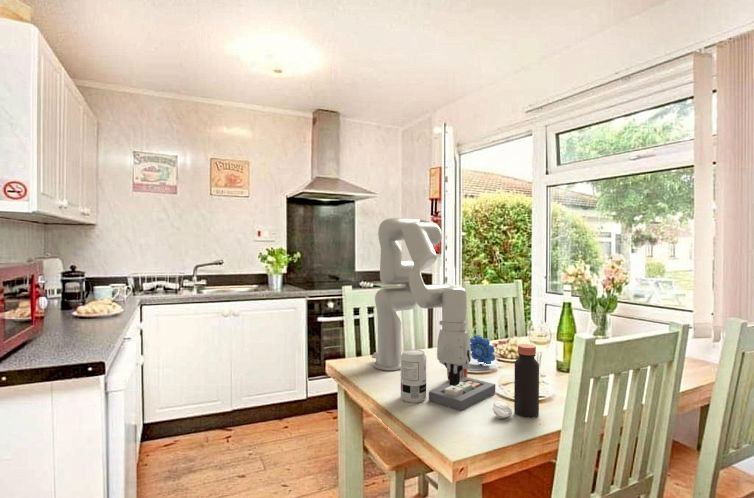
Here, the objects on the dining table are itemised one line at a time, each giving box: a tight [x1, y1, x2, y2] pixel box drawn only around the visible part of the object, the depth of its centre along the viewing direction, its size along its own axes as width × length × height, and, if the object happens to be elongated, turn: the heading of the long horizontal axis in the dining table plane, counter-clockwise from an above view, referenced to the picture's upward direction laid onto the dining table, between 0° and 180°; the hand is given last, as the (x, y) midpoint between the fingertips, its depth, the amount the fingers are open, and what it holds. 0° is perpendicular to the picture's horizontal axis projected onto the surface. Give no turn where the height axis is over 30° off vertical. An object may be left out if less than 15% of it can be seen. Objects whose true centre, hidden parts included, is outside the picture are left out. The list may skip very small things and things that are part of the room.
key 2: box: [456, 382, 472, 392], centre depth 142 cm, size 4×4×2 cm
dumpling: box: [492, 400, 513, 419], centre depth 126 cm, size 7×5×4 cm
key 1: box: [445, 386, 463, 397], centre depth 138 cm, size 4×4×2 cm
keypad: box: [428, 376, 496, 412], centre depth 142 cm, size 12×21×3 cm, turn 137°
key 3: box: [465, 381, 480, 388], centre depth 146 cm, size 4×4×2 cm
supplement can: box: [400, 349, 427, 404], centre depth 140 cm, size 8×8×15 cm
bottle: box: [513, 343, 540, 419], centre depth 128 cm, size 7×7×20 cm
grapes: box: [469, 334, 496, 365], centre depth 177 cm, size 12×7×12 cm, turn 50°
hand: (454, 384), depth 138 cm, fingers closed
